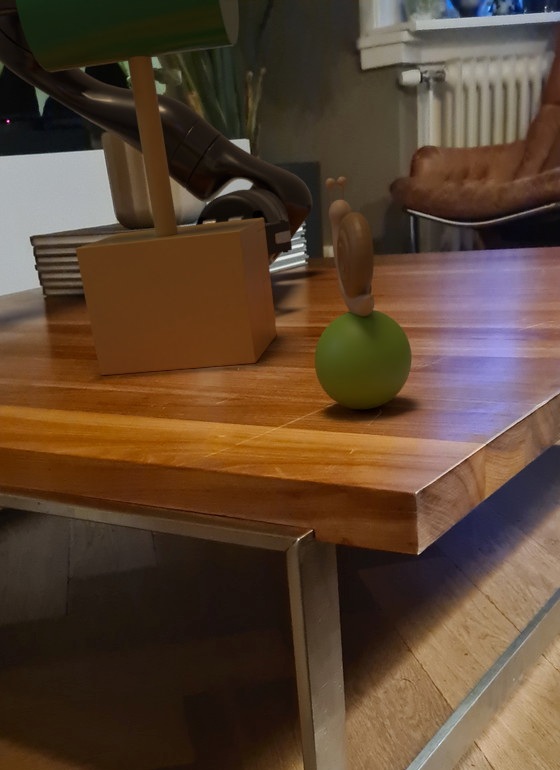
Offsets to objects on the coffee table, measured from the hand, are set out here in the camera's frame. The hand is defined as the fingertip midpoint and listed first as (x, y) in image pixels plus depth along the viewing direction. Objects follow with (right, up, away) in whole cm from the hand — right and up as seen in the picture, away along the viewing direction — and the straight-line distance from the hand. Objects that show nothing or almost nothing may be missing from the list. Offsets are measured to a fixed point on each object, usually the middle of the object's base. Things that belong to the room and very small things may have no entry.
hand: (202, 254), depth 76 cm
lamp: (0, -9, -4) cm, 10 cm away
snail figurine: (+11, -18, -23) cm, 31 cm away
